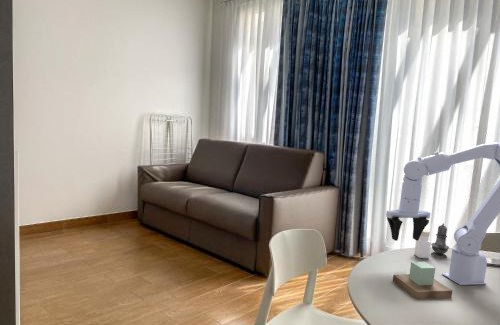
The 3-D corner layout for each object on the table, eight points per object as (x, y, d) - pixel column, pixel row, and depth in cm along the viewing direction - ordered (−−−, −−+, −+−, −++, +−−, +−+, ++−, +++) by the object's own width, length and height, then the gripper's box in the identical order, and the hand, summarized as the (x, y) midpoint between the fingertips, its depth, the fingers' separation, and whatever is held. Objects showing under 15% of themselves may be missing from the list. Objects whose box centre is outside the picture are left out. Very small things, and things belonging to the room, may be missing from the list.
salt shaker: (450, 259, 136) (454, 226, 135) (432, 256, 138) (436, 224, 136) (445, 253, 142) (449, 222, 141) (428, 251, 143) (432, 220, 142)
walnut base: (425, 280, 116) (425, 273, 116) (451, 297, 106) (452, 290, 106) (392, 281, 114) (393, 274, 114) (416, 299, 103) (417, 291, 103)
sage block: (422, 278, 113) (424, 261, 112) (433, 284, 108) (435, 267, 108) (409, 278, 112) (411, 261, 111) (419, 285, 107) (421, 268, 107)
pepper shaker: (429, 259, 135) (433, 232, 134) (418, 258, 135) (421, 232, 134) (424, 255, 139) (427, 229, 138) (413, 254, 139) (416, 228, 138)
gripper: (422, 195, 128) (417, 235, 130) (382, 195, 125) (378, 235, 126) (436, 200, 121) (431, 242, 123) (395, 200, 118) (390, 242, 119)
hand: (405, 239), depth 124 cm, fingers open, 7 cm apart
